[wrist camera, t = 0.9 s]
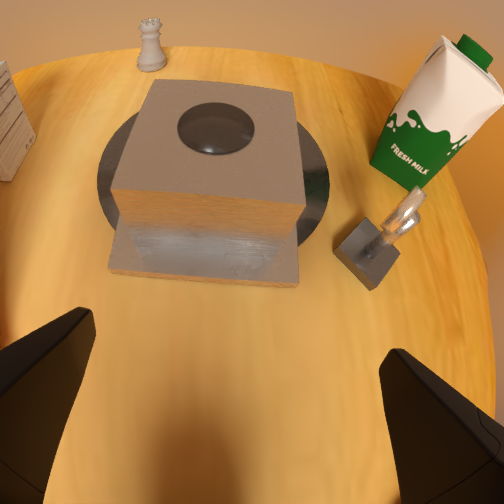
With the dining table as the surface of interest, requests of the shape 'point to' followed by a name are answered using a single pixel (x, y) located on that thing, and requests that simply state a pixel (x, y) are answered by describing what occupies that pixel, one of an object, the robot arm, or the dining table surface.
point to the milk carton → (437, 112)
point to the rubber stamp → (379, 241)
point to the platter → (311, 166)
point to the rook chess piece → (151, 47)
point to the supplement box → (12, 127)
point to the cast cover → (210, 186)
